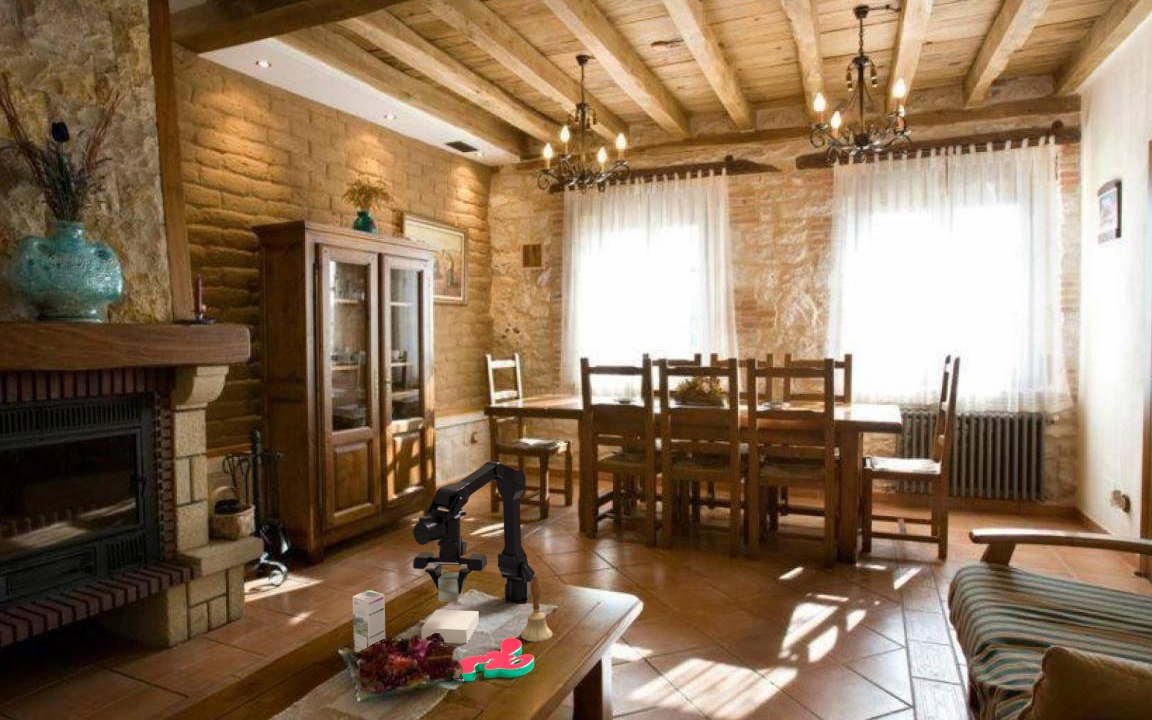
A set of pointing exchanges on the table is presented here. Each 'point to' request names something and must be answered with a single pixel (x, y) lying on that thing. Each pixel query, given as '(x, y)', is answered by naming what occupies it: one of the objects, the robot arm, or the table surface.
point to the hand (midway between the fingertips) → (450, 593)
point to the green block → (449, 587)
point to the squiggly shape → (499, 662)
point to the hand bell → (536, 618)
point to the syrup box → (368, 619)
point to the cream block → (452, 625)
